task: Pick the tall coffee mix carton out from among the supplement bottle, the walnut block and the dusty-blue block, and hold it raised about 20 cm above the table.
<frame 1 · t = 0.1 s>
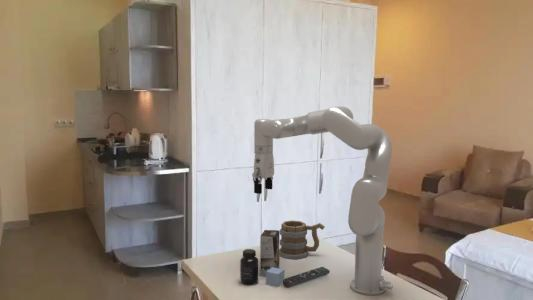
hand: (263, 191, 179), 31 cm above the table, tool pointing down, fingers open, 9 cm apart
coffee box: (269, 272, 175), on the table
supplement bottle: (249, 282, 165), on the table
tankard: (301, 255, 194), on the table
dusty-blue block: (275, 283, 164), on the table
walnut block: (269, 261, 186), on the table
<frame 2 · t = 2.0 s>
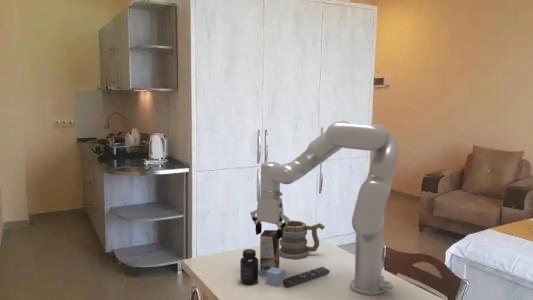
hand: (268, 236, 173), 15 cm above the table, tool pointing down, fingers open, 9 cm apart
nothing on the table moved.
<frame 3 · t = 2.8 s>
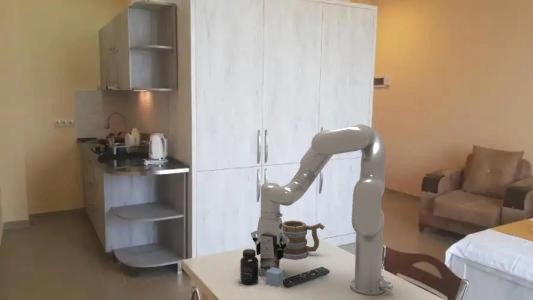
hand: (269, 256, 174), 6 cm above the table, tool pointing down, fingers open, 9 cm apart
nothing on the table moved.
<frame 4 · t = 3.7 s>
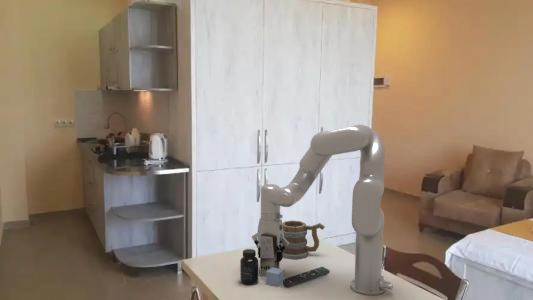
hand: (270, 258, 174), 5 cm above the table, tool pointing down, fingers closed on coffee box, 7 cm apart
coffee box: (270, 272, 175), on the table, touching gripper
everything else where it was.
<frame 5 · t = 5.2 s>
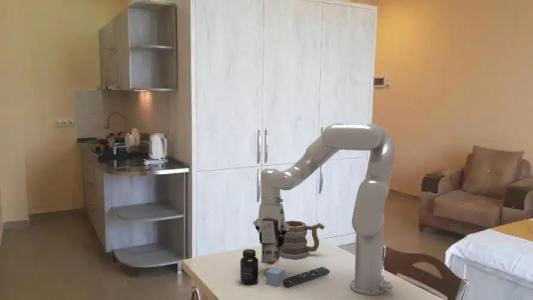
hand: (271, 243, 173), 12 cm above the table, tool pointing down, fingers closed on coffee box, 7 cm apart
coffee box: (272, 257, 174), point 6 cm above the table, touching gripper
everything else where it was.
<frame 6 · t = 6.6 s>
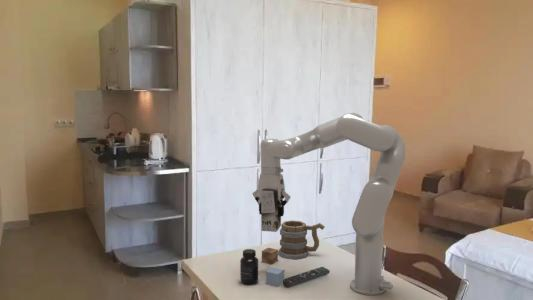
hand: (271, 214, 172), 23 cm above the table, tool pointing down, fingers closed on coffee box, 7 cm apart
coffee box: (271, 228, 172), point 18 cm above the table, touching gripper
everything else where it was.
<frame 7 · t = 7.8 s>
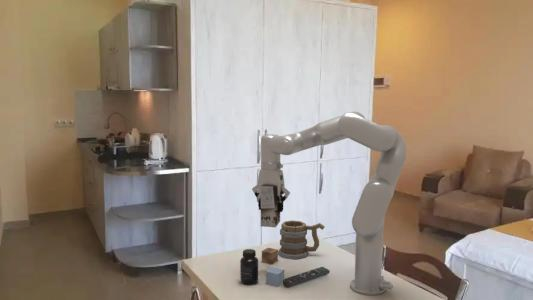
hand: (270, 210, 172), 25 cm above the table, tool pointing down, fingers closed on coffee box, 7 cm apart
coffee box: (270, 224, 172), point 20 cm above the table, touching gripper
everything else where it was.
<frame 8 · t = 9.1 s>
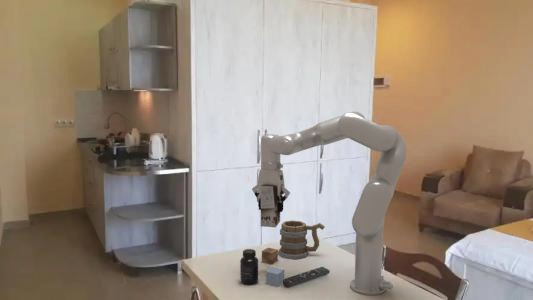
hand: (270, 210, 172), 25 cm above the table, tool pointing down, fingers closed on coffee box, 7 cm apart
coffee box: (270, 224, 172), point 20 cm above the table, touching gripper
everything else where it was.
at the end: the gripper is holding coffee box; coffee box point 19.5 cm above the table; supplement bottle moved 0.2 cm from its start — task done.
